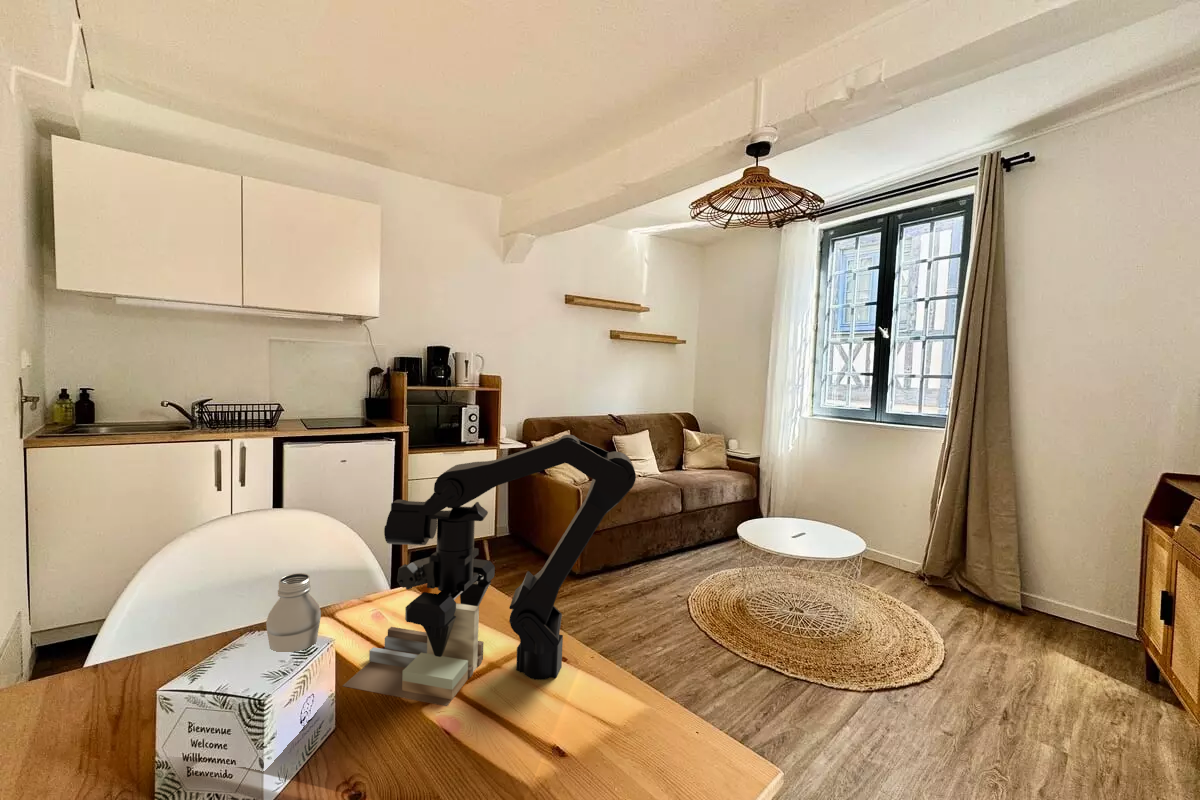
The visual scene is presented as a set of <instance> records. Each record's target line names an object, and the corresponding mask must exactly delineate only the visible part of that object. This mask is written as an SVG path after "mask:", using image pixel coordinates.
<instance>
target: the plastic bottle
mask: <svg viewBox="0 0 1200 800" xmlns="http://www.w3.org/2000/svg"><path fill="white" fill-rule="evenodd" d="M311 586H312V585H311V577H310V575H309V574H308V573H302V572H301V573H296V572H295V573H292V574H287V575H284V576H282V577H281V578H280V579H279V580H278V590H277V597H279V598H278V600H277V601H276V602H275V604H274V605H273V606H272V608H271V610H269V613H268V616H267V619H266V621H265V623H266V626H265V627H266V632H267V640H268V645H269V650H270V649H271V650H273V651H276V652H294V651H300V650H303V649H306V648H308V647H310V646H312V645H314V644H316V642H317V643H318V634H319V631H320V630H319V629H320V624H321V617H322V616H321V615H322V611H321V607H320V605H319V603H318V602H317V601H316V600H315V598H314V597H313V596H312V595H311V594H310V593H309V592H311Z"/></svg>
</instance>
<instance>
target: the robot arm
mask: <svg viewBox="0 0 1200 800" xmlns="http://www.w3.org/2000/svg"><path fill="white" fill-rule="evenodd" d="M564 464H567V465H569V466H570V467H573V468H574V469H576V470H577V471H579V472H580V473H583V475H585V476H587V477H589V478H591V482H590V485H589V489H588V490H587V494H586V496H585V499H584V500H583V501H582V504H581V505H580V507H579V509H578V510H577V512H576V513H575V515H574V516H573V518H572V519H571V521H570V523H569V524H568V526H567V528H566V529H565V532H564V533H563V534H562V536H561V537H560V538H559V541H558V542H557V544H556V546H555V547H554V549H553V550H552V552H551V553H550V555H549V557H548V559H547V560H546V562H545V564H544V565H543V567H542V568H541V570H539V571H538V572H536V573H535V574H534V575H533V574H532V573H531V572H530V571H526V574H525V577H524V579H523V581H522V583H521V584H520V586H518V587H516V589H515V591H514V593H513V597H512V600H511V602H510V605H509V606H508V607H509V610H511V612H510V614H509V621H508V622H509V625H510V628H511V629H512V631H513V632H514V633H515V634H516V635H517V636H518V637H519V644H518V646H517V647H516V660H515V661H516V664H515V666H516V667H515V670H516V671H517V672H519V673H522V674H524V675H525V677H527V678H528V679H531V680H537V681H544V680H548V679H551V678H552V679H557V677H558V676H559V674H560V672H561V669H562V663H563V645H564V644H563V641H564V635H563V634H560V633H561V632H560V631H561V625H562V617H563V614H562V612H561V611H560V610H559V609H558V608H557V607H556V606H555V602H556V600H557V596H558V594H559V591H560V588H561V586H562V585H563V584H564V582H565V580H566V579H567V577H568V575H569V574H570V572H571V570H572V568H573V567H574V566H575V564H576V562H577V561H578V559H579V557H580V556H581V554H583V551H584V549H585V548H586V546H587V545H588V543H589V541H590V540H591V538H592V537H593V535H594V533H595V532H596V530H597V529H598V527H599V525H600V523H601V522H602V520H603V518H604V517H605V515H607V514H608V513H609V512H610V511H611V510H612V509H613V508H614V507H616V506H617V505H618V504H619V503H620V502H621V501H622V500H623V499H624V497H625V496H627V494H628V493H629V492H630V491H631V489H632V488H633V487H634V485H635V483H636V481H637V480H636V479H637V475H636V469H635V467H634V465H633V462H632V460H631V459H630V457H629V455H626V453H624V452H622V451H621V452H620V451H615V450H614V451H610V452H609V451H607V450H605V449H603V448H601V447H598V446H596V445H594V444H591V443H589V442H587V441H584V440H581V439H579V438H578V437H576V436H575V435H573V434H564V435H562V436H561V437H559V438H557V439H553V440H550V441H548V442H545V443H542V444H538V445H536V446H533V447H530V448H527V449H523V450H521V451H518V452H515V453H512V454H509V455H506V456H503V457H500V458H497V459H494V460H487V461H473V462H466V463H461V464H456V465H453V466H451V467H450V468H449V469H447V470H445V471H444V472H443V473H441V474H440V475H439V476H438V477H437V479H436V480H435V482H434V485H433V493H432V495H431V496H430V497H429V498H428V499H426V500H425V501H415V500H414V501H412V500H411V501H410V500H406V499H396V500H394V501H393V502H391V504H390V511H389V513H388V516H387V518H386V523H385V526H384V529H383V533H384V539H385V542H386V544H388V545H410V546H413V545H414V546H425V545H427V544H428V542H429V540H432V539H434V538H435V536H436V551H435V552H433V553H432V554H430V556H428V557H424V558H421V559H417V560H414V561H413V562H410V563H408V564H407V563H405V564H403V565H401V566H400V567H399V568H398V572H397V578H396V583H398V584H399V587H401V588H405V590H412V588H415V587H418V586H421V585H422V586H423V585H426V588H427V589H432V590H433V589H436V588H437V589H438V591H439V592H438V593H433V592H428V591H427V592H426V591H423V592H422V593H420V595H418V596H417V597H416V598H415V599H413V600H412V601H410V603H408V604H407V605H406V606H405V610H404V611H405V615H404V616H405V617H404V619H405V622H406V623H412V624H415V625H420V626H421V627H423V629H424V632H426V633H427V636H428V638H429V641H430V644H431V647H432V649H433V652H434V655H435V656H438V657H441V656H442V655H443V652H444V650H445V647H446V644H447V642H448V639H449V636H450V633H451V630H452V627H453V624H454V621H455V619H456V616H454V613H455V611H456V603H457V602H456V599H457V598H458V597H459V601H460V603H459V604H465V605H472V606H479V607H480V604H481V602H482V600H483V599H484V596H485V594H486V593H487V590H488V589H489V587H490V585H491V584H492V579H494V577H495V571H496V569H495V566H496V565H494V564H493V562H492V561H491V560H487V559H479V558H478V559H477V558H476V557H477V556H479V552H480V550H479V548H478V547H475V525H476V523H475V522H482V521H484V519H485V518H486V517H487V516H488V513H489V511H488V510H486V508H484V507H482V505H481V504H480V502H479V501H476V502H474V504H473V505H472V506H464V505H465V504H468V503H469V502H471V501H473V500H475V499H477V498H479V497H480V496H482V495H484V494H486V493H487V492H488V491H490V490H492V489H494V488H496V487H497V486H500V485H503V484H507V483H509V482H512V481H516V480H518V479H521V478H524V477H527V476H530V475H533V474H537V473H539V472H542V471H543V472H544V471H545V470H548V469H552V468H554V467H558V466H561V465H564ZM446 508H448V509H450V510H444V509H446Z"/></svg>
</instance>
